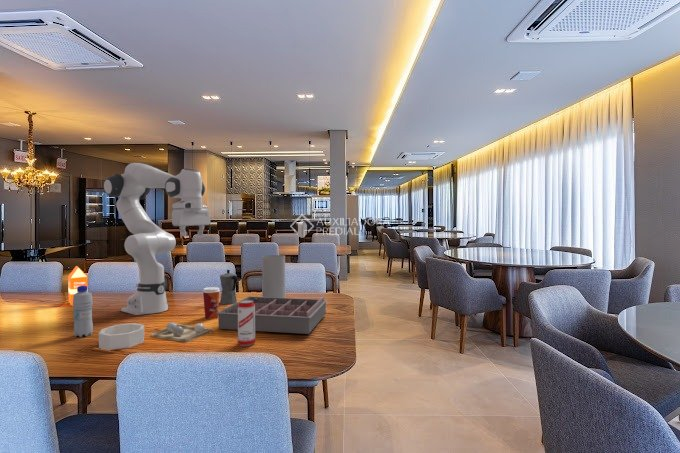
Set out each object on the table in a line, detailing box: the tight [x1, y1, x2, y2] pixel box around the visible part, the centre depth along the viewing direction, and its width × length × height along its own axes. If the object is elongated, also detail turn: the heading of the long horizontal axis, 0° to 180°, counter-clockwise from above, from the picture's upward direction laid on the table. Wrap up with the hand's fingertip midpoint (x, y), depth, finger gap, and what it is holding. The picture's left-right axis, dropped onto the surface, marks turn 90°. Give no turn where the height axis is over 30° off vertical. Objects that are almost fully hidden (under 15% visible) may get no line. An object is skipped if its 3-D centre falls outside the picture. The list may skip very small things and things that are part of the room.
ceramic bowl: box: [98, 322, 145, 351], centre depth 140 cm, size 14×14×6 cm
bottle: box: [72, 285, 94, 338], centre depth 149 cm, size 7×7×20 cm
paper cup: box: [202, 286, 221, 320], centre depth 174 cm, size 8×8×14 cm
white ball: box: [194, 322, 206, 334], centre depth 150 cm, size 4×4×4 cm
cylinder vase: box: [261, 254, 286, 298], centre depth 209 cm, size 12×12×25 cm
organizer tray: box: [216, 295, 328, 335], centre depth 166 cm, size 32×40×10 cm
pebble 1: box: [165, 322, 178, 332], centre depth 152 cm, size 4×4×4 cm
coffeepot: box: [219, 269, 238, 305], centre depth 204 cm, size 15×9×18 cm, turn 43°
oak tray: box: [150, 323, 213, 343], centre depth 150 cm, size 18×14×2 cm
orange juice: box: [67, 265, 89, 306], centre depth 204 cm, size 8×9×20 cm
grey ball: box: [173, 326, 184, 337], centre depth 146 cm, size 4×4×4 cm
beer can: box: [237, 299, 256, 347], centre depth 139 cm, size 6×6×16 cm
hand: (192, 235), depth 168 cm, fingers open, 8 cm apart
